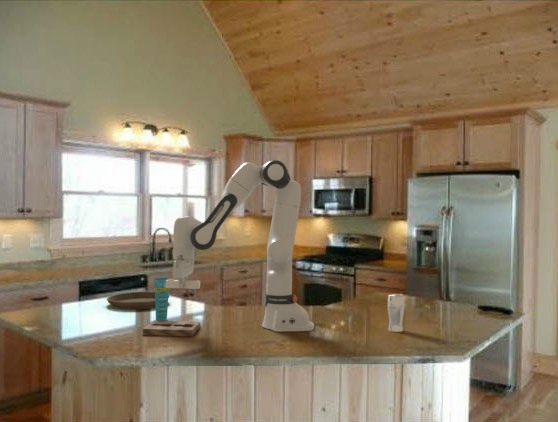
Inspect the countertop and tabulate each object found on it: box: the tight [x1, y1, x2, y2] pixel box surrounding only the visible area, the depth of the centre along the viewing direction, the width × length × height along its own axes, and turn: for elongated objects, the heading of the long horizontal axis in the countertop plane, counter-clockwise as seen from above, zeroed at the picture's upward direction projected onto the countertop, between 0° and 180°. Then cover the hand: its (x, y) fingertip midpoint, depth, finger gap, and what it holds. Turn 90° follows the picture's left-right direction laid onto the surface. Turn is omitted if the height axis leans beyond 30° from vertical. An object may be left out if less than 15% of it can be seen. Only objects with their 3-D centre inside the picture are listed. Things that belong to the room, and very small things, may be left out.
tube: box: [153, 276, 172, 321], centre depth 214 cm, size 7×5×19 cm, turn 123°
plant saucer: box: [106, 291, 170, 311], centre depth 246 cm, size 31×31×5 cm
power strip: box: [166, 278, 201, 295], centre depth 201 cm, size 14×3×6 cm, turn 86°
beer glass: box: [387, 293, 405, 333], centre depth 202 cm, size 7×7×15 cm
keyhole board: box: [142, 319, 201, 337], centre depth 195 cm, size 20×14×2 cm
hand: (183, 286), depth 201 cm, fingers closed on power strip, 3 cm apart
